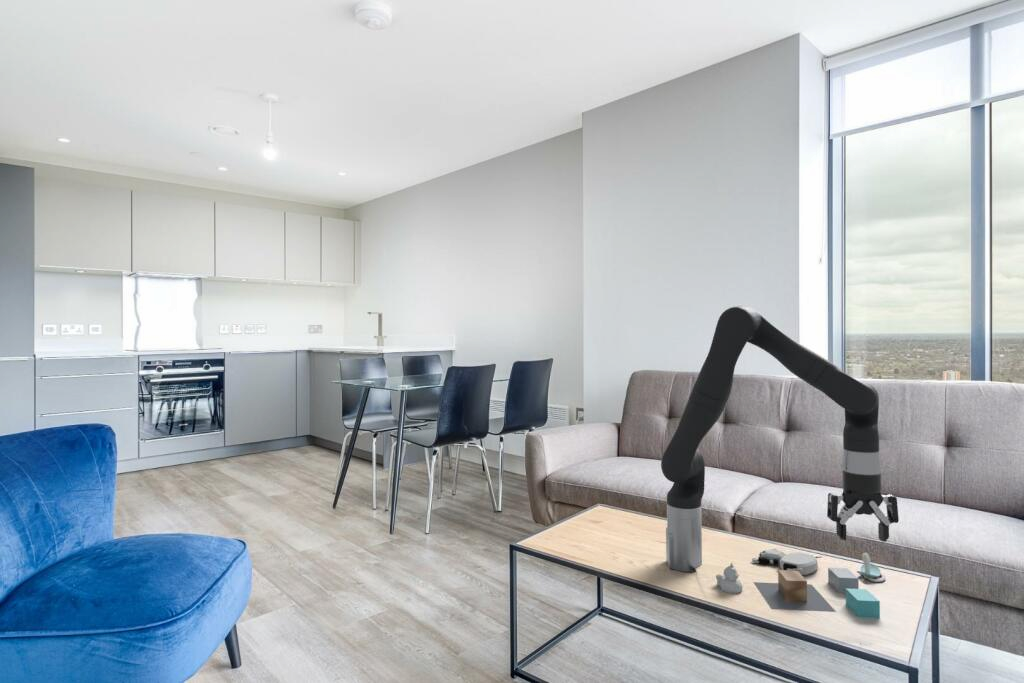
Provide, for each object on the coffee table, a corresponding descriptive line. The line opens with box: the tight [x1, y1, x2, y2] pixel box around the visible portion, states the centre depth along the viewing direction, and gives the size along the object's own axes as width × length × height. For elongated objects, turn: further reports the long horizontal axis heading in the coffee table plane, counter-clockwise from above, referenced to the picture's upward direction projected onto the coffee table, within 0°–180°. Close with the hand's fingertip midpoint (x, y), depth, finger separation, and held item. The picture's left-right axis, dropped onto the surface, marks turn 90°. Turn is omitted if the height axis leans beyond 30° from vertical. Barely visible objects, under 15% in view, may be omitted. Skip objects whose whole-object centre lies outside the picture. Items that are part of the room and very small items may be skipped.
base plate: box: [753, 581, 837, 613], centre depth 136 cm, size 14×14×1 cm
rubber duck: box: [715, 562, 743, 594], centre depth 140 cm, size 5×7×8 cm
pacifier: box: [856, 552, 887, 583], centre depth 148 cm, size 7×6×6 cm
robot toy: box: [751, 548, 823, 576], centre depth 154 cm, size 12×4×15 cm
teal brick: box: [845, 588, 881, 619], centre depth 128 cm, size 4×6×5 cm
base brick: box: [777, 569, 808, 602], centre depth 136 cm, size 4×6×5 cm
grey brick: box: [827, 567, 860, 594], centre depth 140 cm, size 4×6×5 cm
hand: (862, 539), depth 129 cm, fingers open, 8 cm apart
